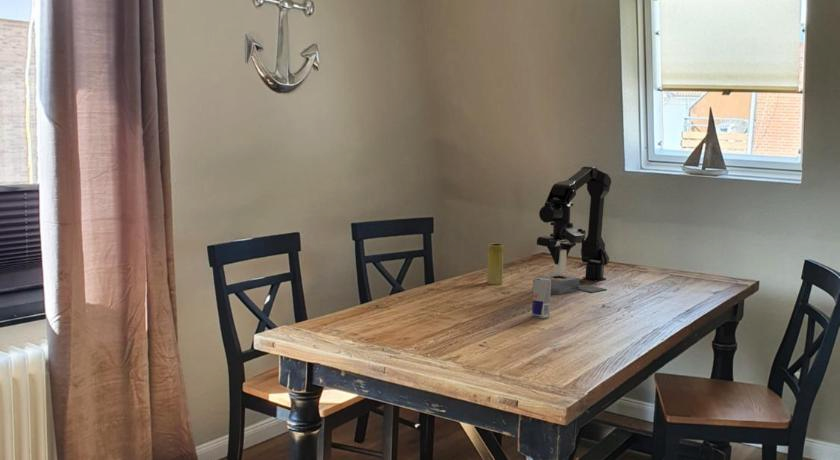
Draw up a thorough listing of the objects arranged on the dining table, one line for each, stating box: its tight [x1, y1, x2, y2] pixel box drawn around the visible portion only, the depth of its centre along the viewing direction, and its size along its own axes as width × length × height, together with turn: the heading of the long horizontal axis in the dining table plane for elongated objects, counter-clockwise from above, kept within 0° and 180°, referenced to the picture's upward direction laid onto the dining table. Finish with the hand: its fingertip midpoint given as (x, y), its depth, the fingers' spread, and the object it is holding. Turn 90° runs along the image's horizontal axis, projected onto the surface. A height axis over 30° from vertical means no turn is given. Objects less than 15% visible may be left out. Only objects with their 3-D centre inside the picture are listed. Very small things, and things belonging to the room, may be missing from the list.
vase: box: [486, 242, 504, 286], centre depth 311 cm, size 6×6×14 cm
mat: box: [579, 284, 608, 294], centre depth 304 cm, size 8×8×1 cm
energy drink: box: [531, 276, 552, 320], centre depth 264 cm, size 5×5×12 cm
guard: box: [539, 273, 580, 295], centre depth 303 cm, size 10×10×4 cm
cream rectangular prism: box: [553, 249, 567, 274], centre depth 301 cm, size 3×3×8 cm
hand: (559, 263), depth 302 cm, fingers closed on cream rectangular prism, 3 cm apart
